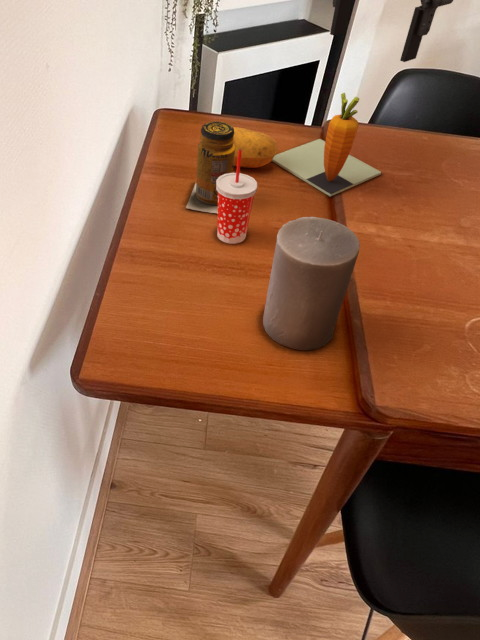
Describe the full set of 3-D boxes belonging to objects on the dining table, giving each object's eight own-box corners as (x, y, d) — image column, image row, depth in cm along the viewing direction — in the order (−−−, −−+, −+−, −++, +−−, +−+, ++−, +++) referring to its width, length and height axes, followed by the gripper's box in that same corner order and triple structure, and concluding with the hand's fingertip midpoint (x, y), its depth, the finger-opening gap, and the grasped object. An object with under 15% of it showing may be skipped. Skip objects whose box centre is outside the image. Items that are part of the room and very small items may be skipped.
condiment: (235, 189, 93) (242, 121, 84) (228, 215, 88) (234, 145, 79) (195, 184, 94) (198, 115, 85) (185, 209, 89) (187, 138, 79)
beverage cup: (226, 219, 87) (233, 135, 76) (257, 233, 85) (270, 148, 74) (204, 236, 84) (209, 151, 73) (237, 251, 81) (247, 165, 71)
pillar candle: (345, 343, 69) (380, 248, 58) (277, 357, 67) (298, 261, 56) (315, 296, 75) (340, 201, 64) (251, 307, 73) (265, 211, 62)
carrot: (314, 173, 97) (333, 87, 86) (341, 175, 97) (364, 88, 86) (317, 187, 94) (337, 99, 82) (345, 189, 94) (369, 101, 82)
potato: (266, 181, 96) (271, 145, 90) (196, 164, 99) (198, 128, 94) (279, 163, 100) (284, 127, 95) (212, 146, 103) (214, 111, 98)
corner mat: (380, 174, 99) (381, 171, 99) (330, 196, 93) (330, 193, 93) (319, 140, 107) (319, 138, 107) (268, 159, 101) (269, 156, 101)
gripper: (322, -161, 68) (295, 27, 84) (495, -139, 56) (425, 77, 72) (359, -162, 72) (327, 19, 88) (531, -141, 59) (456, 66, 75)
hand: (371, 46), depth 80 cm, fingers open, 13 cm apart
